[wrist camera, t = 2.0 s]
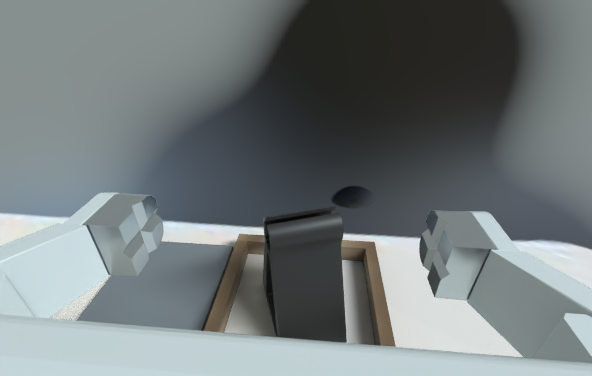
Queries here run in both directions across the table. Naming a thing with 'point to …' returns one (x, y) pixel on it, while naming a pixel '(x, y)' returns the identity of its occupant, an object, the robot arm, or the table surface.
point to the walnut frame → (348, 252)
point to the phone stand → (305, 274)
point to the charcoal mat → (164, 289)
